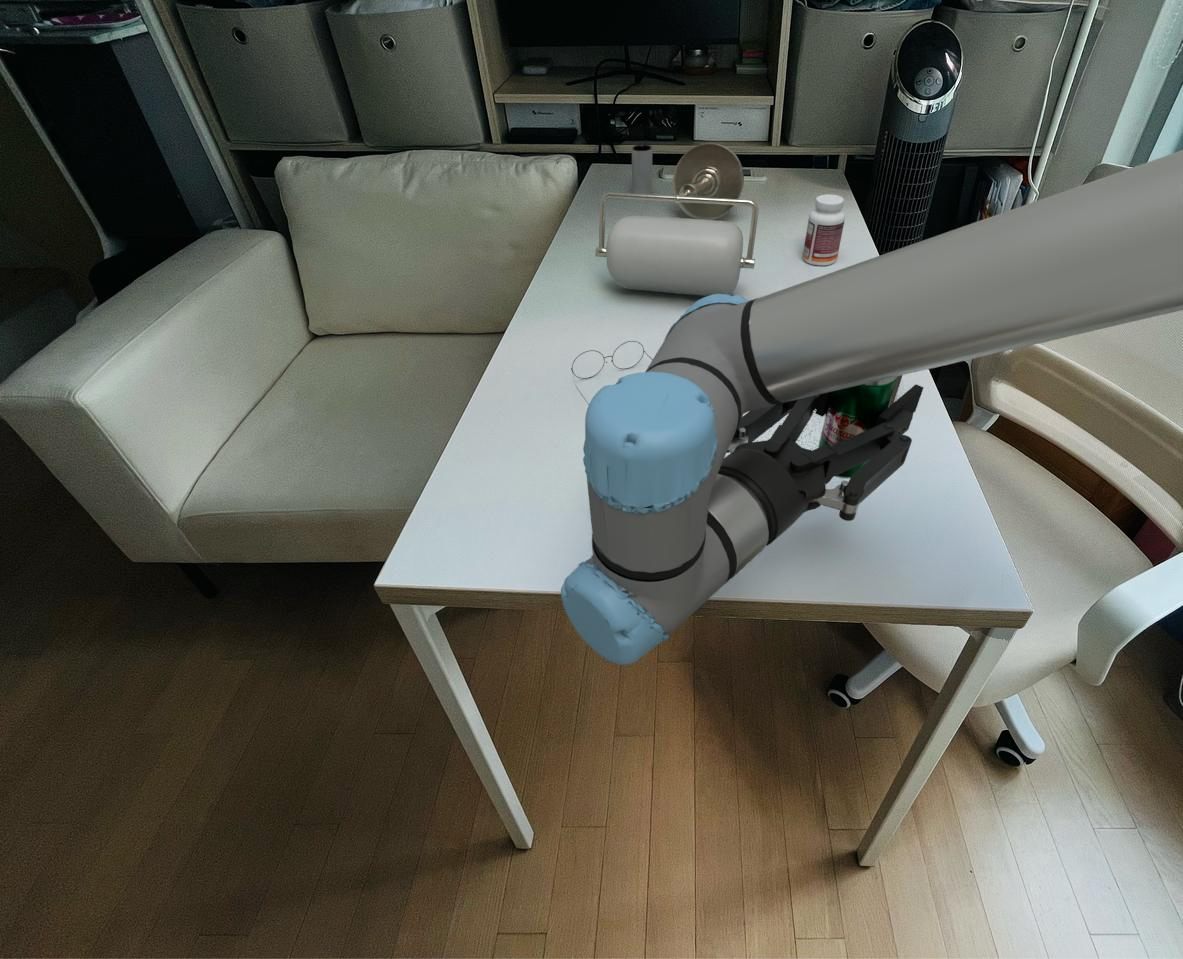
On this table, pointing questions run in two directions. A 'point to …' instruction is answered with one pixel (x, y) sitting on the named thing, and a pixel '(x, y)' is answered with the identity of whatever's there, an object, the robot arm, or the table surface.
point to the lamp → (684, 231)
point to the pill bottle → (824, 231)
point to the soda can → (855, 413)
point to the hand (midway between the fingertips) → (886, 386)
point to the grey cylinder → (642, 169)
